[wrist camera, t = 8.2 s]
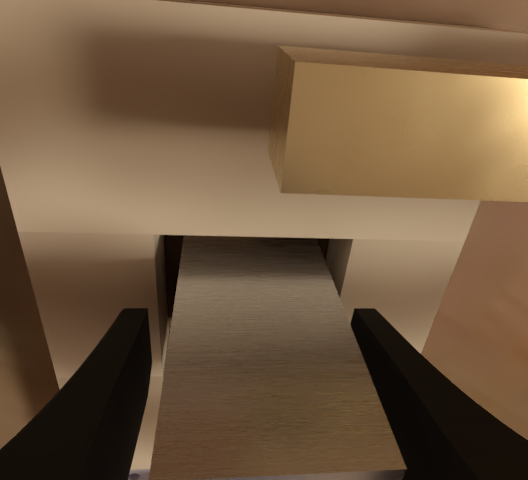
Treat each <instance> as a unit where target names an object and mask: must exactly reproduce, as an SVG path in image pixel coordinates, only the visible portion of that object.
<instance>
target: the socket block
mask: <svg viewBox="0 0 528 480" xmlns="http://www.w3.org/2000/svg"><path fill="white" fill-rule="evenodd" d="M278 45H279V46H292V47H304V48H317V49H329V50H342V51H354V52H367V53H379V54H392V55H404V56H417V57H429V58H442V59H454V60H466V61H479V62H491V63H504V64H516V65H528V33H523V32H516V31H509V30H501V29H494V28H483V27H472V26H461V25H450V24H439V23H428V22H417V21H406V20H395V19H385V18H374V17H363V16H352V15H341V14H330V13H319V12H308V11H297V10H286V9H275V8H264V7H253V6H242V5H231V4H220V3H209V2H198V1H187V0H0V167H1V170H2V174H3V178H4V182H5V186H6V189H7V193H8V197H9V201H10V204H11V208H12V212H13V216H14V220H15V223H16V227H17V231H18V235H19V238H20V242H21V246H22V250H23V254H24V257H25V261H26V265H27V269H28V272H29V276H30V280H31V284H32V288H33V291H34V295H35V299H36V303H37V306H38V310H39V314H40V318H41V322H42V325H43V329H44V333H45V337H46V340H47V344H48V348H49V352H50V356H51V359H52V363H53V367H54V371H55V374H56V378H57V382H58V386H59V390H60V389H61V388H62V387H63V386H64V384H65V383H66V382H67V381H68V380H69V379H70V378H71V377H72V375H73V374H74V373H75V372H76V371H77V370H78V368H79V367H80V366H81V365H82V363H83V362H84V361H85V360H86V358H87V357H88V356H89V354H90V353H91V352H92V351H93V349H94V348H95V347H96V346H97V344H98V343H99V342H100V340H101V339H102V338H103V336H104V335H105V333H106V332H107V331H108V329H109V328H110V326H111V325H112V324H113V322H114V321H115V319H116V318H117V316H118V315H119V313H120V312H121V311H122V310H123V309H124V308H148V317H149V329H150V341H151V352H152V368H151V376H150V384H149V392H148V398H147V403H146V407H145V411H144V415H143V419H142V424H141V428H140V432H139V436H138V440H137V444H136V448H135V452H134V456H133V460H132V464H131V469H130V470H136V469H150V467H151V460H152V453H153V446H154V439H155V432H156V425H157V419H158V412H159V405H160V398H161V391H162V384H163V377H164V370H165V363H166V356H167V350H168V343H169V336H170V333H169V324H168V305H167V286H166V267H165V248H164V235H197V236H242V237H287V238H330V239H329V244H328V250H327V255H326V260H325V262H326V264H327V267H328V269H329V272H330V274H331V277H332V280H333V282H334V285H335V287H336V290H337V292H338V295H339V297H340V300H341V302H342V305H343V308H344V310H345V313H346V315H347V318H348V320H349V323H350V324H351V320H352V316H353V312H354V308H375V309H376V310H377V311H378V312H379V313H380V314H381V315H382V316H383V317H384V318H385V319H386V320H387V321H388V322H389V323H390V324H391V325H392V326H393V327H394V328H395V329H396V330H397V331H398V332H399V333H400V334H401V335H402V336H403V337H404V338H405V339H406V340H407V341H408V342H409V343H410V344H411V345H412V346H413V347H414V348H415V349H416V350H417V351H418V352H419V353H420V354H421V352H422V349H423V347H424V344H425V342H426V339H427V336H428V334H429V331H430V329H431V326H432V324H433V321H434V319H435V316H436V313H437V311H438V308H439V306H440V303H441V301H442V298H443V296H444V293H445V290H446V288H447V285H448V283H449V280H450V278H451V275H452V272H453V270H454V267H455V265H456V262H457V260H458V257H459V255H460V252H461V249H462V247H463V244H464V242H465V239H466V237H467V234H468V232H469V229H470V226H471V224H472V221H473V219H474V216H475V214H476V211H477V209H478V206H479V203H480V201H481V200H458V199H430V198H401V197H373V196H345V195H317V194H289V193H280V190H279V186H278V183H277V180H276V176H275V173H274V170H273V167H272V163H271V160H270V157H269V153H268V148H269V137H270V126H271V115H272V104H273V92H274V81H275V70H276V59H277V48H278Z"/></svg>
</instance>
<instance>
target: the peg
mask: <svg viewBox="0 0 528 480" xmlns="http://www.w3.org/2000/svg"><path fill="white" fill-rule="evenodd" d="M406 470H407V468H406V465H405V463H404V460H403V458H402V455H401V453H400V450H399V448H398V445H397V443H396V440H395V437H394V435H393V432H392V430H391V427H390V425H389V422H388V420H387V417H386V415H385V412H384V409H383V407H382V404H381V402H380V399H379V397H378V394H377V392H376V389H375V387H374V384H373V381H372V379H371V376H370V374H369V371H368V369H367V366H366V364H365V361H364V359H363V356H362V353H361V351H360V348H359V346H358V343H357V341H356V338H355V336H354V333H353V331H352V328H351V325H350V323H349V320H348V318H347V315H346V313H345V310H344V308H343V305H342V302H341V300H340V297H339V295H338V292H337V290H336V287H335V285H334V282H333V280H332V277H331V274H330V272H329V269H328V267H327V264H326V262H325V259H324V257H323V254H322V252H321V249H320V246H319V244H318V241H317V239H316V238H287V237H242V236H197V235H184V239H183V246H182V253H181V260H180V267H179V274H178V281H177V288H176V294H175V301H174V308H173V315H172V322H171V329H170V336H169V343H168V350H167V356H166V363H165V370H164V377H163V384H162V391H161V398H160V405H159V412H158V419H157V425H156V432H155V439H154V446H153V453H152V460H151V467H150V474H149V480H402V479H403V477H404V475H405V472H406Z"/></svg>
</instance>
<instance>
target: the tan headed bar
mask: <svg viewBox="0 0 528 480" xmlns="http://www.w3.org/2000/svg"><path fill="white" fill-rule="evenodd" d="M268 153H269V157H270V160H271V163H272V167H273V170H274V173H275V176H276V180H277V183H278V186H279V190H280V193H289V194H317V195H345V196H373V197H401V198H430V199H458V200H486V201H514V202H528V65H516V64H504V63H491V62H479V61H466V60H454V59H442V58H429V57H417V56H404V55H392V54H379V53H367V52H354V51H342V50H329V49H317V48H304V47H292V46H279V45H278V48H277V59H276V70H275V81H274V92H273V104H272V115H271V126H270V137H269V148H268Z"/></svg>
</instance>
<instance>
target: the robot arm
mask: <svg viewBox="0 0 528 480" xmlns="http://www.w3.org/2000/svg"><path fill="white" fill-rule="evenodd" d="M350 325H351V328H352V331H353V333H354V336H355V338H356V341H357V343H358V346H359V348H360V351H361V353H362V356H363V359H364V361H365V364H366V366H367V369H368V371H369V374H370V376H371V379H372V381H373V384H374V387H375V389H376V392H377V394H378V397H379V399H380V402H381V404H382V407H383V409H384V412H385V415H386V417H387V420H388V422H389V425H390V427H391V430H392V432H393V435H394V437H395V440H396V443H397V445H398V448H399V450H400V453H401V455H402V458H403V460H404V463H405V465H406V468H407V470H406V472H405V475H404V477H403V479H402V480H528V440H526V439H525V438H523V437H522V436H520V435H519V434H518V433H516V432H515V431H513V430H512V429H510V428H509V427H508V426H506V425H505V424H503V423H502V422H501V421H499V420H498V419H497V418H495V417H494V416H493V415H492V414H490V413H489V412H488V411H486V410H485V409H484V408H482V407H481V406H480V405H478V404H477V403H476V402H475V401H473V400H472V399H471V398H470V397H468V396H467V395H466V394H465V393H464V392H462V391H461V390H460V389H459V388H458V387H457V386H455V385H454V384H453V383H452V382H451V381H450V380H449V379H447V378H446V377H445V376H444V375H443V374H442V373H441V372H440V371H438V370H437V369H436V368H435V367H434V366H433V365H432V364H431V363H430V362H429V361H428V360H427V359H425V358H424V357H423V356H422V355H421V354H420V353H419V352H418V351H417V350H416V349H415V348H414V347H413V346H412V345H411V344H410V343H409V342H408V341H407V340H406V339H405V338H404V337H403V336H402V335H401V334H400V333H399V332H398V331H397V330H396V329H395V328H394V327H393V326H392V325H391V324H390V323H389V322H388V321H387V320H386V319H385V318H384V317H383V316H382V315H381V314H380V313H379V312H378V311H377V310H376V309H375V308H354V312H353V316H352V320H351V324H350ZM151 368H152V352H151V341H150V329H149V317H148V308H124V309H123V310H122V311H121V312H120V313H119V315H118V316H117V318H116V319H115V321H114V322H113V324H112V325H111V326H110V328H109V329H108V331H107V332H106V333H105V335H104V336H103V338H102V339H101V340H100V342H99V343H98V344H97V346H96V347H95V348H94V349H93V351H92V352H91V353H90V354H89V356H88V357H87V358H86V360H85V361H84V362H83V363H82V365H81V366H80V367H79V368H78V370H77V371H76V372H75V373H74V374H73V375H72V377H71V378H70V379H69V380H68V381H67V382H66V383H65V384H64V386H63V387H62V388H61V389H60V390H59V391H58V392H57V394H56V395H55V396H54V397H53V398H52V399H51V400H50V401H49V402H48V403H47V404H46V406H45V407H44V408H43V409H42V410H41V411H40V412H39V413H38V414H37V415H36V416H35V417H34V418H33V419H32V420H31V421H30V422H29V423H28V424H27V425H26V426H25V427H24V428H23V429H22V430H21V431H20V432H19V433H18V434H17V435H16V436H15V437H13V438H12V439H11V440H10V441H9V442H8V443H7V444H6V445H5V446H4V447H2V448H1V449H0V480H149V474H150V469H136V470H130V469H131V464H132V460H133V456H134V452H135V448H136V444H137V440H138V436H139V432H140V428H141V424H142V419H143V415H144V411H145V407H146V403H147V398H148V392H149V384H150V376H151Z"/></svg>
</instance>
